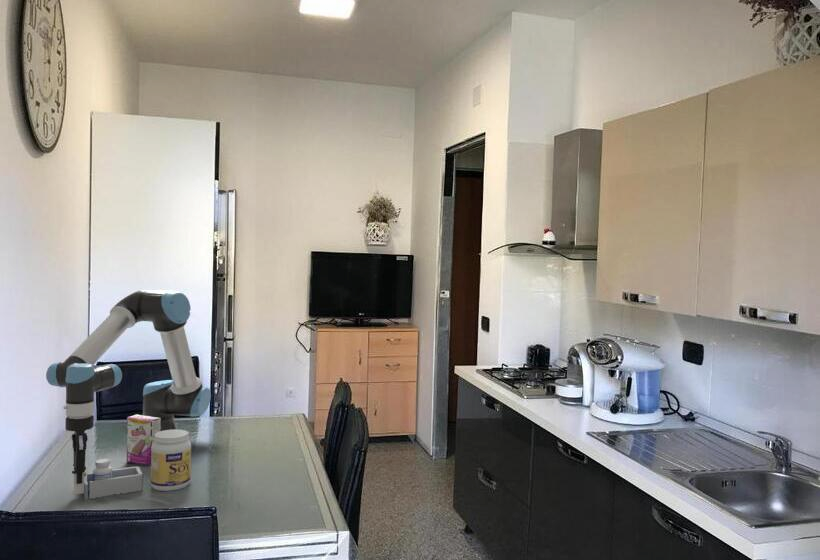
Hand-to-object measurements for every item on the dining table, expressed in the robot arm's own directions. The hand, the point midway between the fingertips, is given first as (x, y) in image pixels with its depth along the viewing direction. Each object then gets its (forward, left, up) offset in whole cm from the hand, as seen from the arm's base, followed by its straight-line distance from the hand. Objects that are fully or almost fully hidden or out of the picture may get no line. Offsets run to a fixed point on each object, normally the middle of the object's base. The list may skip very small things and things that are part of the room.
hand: (78, 492), depth 189 cm
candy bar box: (-22, -25, -2) cm, 34 cm away
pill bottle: (-7, -2, -2) cm, 7 cm away
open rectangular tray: (-10, -2, -2) cm, 11 cm away
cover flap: (-2, -2, -2) cm, 4 cm away
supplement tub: (-26, +2, -2) cm, 26 cm away
